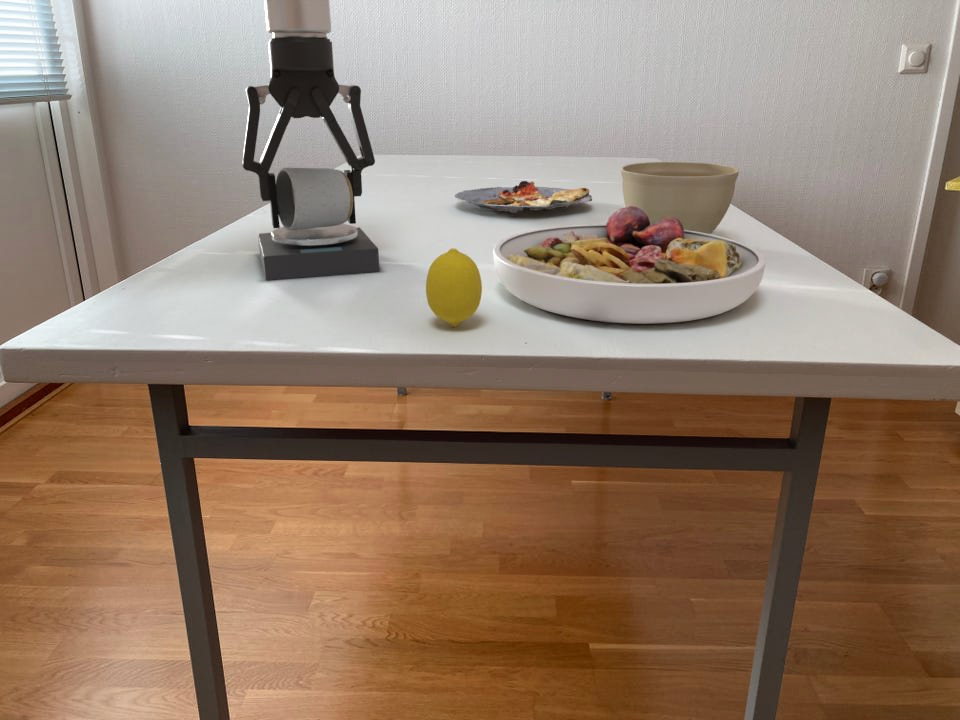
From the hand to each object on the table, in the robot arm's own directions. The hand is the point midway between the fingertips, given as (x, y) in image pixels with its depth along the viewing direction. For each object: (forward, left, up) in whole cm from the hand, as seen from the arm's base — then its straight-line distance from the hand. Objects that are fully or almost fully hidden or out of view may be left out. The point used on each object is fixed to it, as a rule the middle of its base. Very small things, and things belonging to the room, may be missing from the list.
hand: (314, 223), depth 101 cm
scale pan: (0, 0, -2) cm, 2 cm away
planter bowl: (+51, -4, -5) cm, 51 cm away
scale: (0, 0, -5) cm, 5 cm away
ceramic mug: (-1, 0, 0) cm, 1 cm away
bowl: (+32, -25, -5) cm, 41 cm away
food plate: (+41, +31, -5) cm, 52 cm away
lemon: (+10, -31, -5) cm, 33 cm away
